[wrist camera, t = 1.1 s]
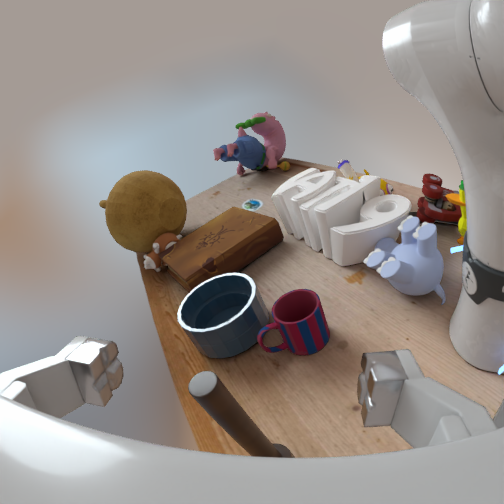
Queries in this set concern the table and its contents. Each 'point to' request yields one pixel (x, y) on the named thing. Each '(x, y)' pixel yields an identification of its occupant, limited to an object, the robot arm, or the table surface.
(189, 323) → the bowl
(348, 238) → the wavy white extrusion
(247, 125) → the toy
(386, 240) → the hippopotamus toy
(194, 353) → the table surface
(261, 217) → the carved wooden box
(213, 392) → the cylinder
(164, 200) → the tan rounded lump
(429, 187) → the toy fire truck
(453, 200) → the toy figure
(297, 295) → the cup
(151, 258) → the figurine
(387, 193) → the character
